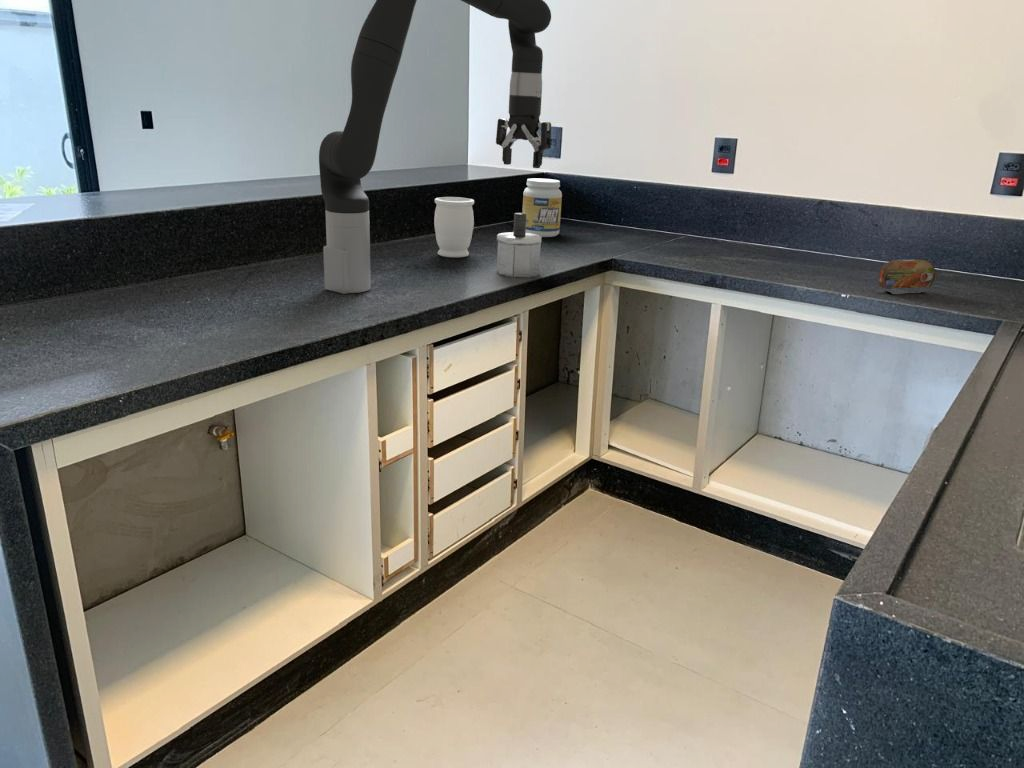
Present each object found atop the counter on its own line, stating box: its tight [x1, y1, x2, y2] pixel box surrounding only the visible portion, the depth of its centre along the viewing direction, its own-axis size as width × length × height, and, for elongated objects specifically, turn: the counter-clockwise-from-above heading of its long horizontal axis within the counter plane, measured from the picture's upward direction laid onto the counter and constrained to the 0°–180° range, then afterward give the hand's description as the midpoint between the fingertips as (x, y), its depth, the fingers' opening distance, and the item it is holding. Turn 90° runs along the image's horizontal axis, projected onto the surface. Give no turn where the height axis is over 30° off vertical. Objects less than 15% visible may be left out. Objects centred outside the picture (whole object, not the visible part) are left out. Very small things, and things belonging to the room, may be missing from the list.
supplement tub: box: [521, 177, 563, 238], centre depth 249 cm, size 12×12×17 cm
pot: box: [496, 241, 542, 279], centre depth 197 cm, size 10×10×8 cm
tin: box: [878, 259, 936, 289], centre depth 196 cm, size 15×3×8 cm, turn 105°
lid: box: [496, 212, 543, 245], centre depth 194 cm, size 11×11×7 cm
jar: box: [433, 196, 475, 259], centre depth 213 cm, size 11×10×15 cm
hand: (521, 166), depth 189 cm, fingers open, 8 cm apart
